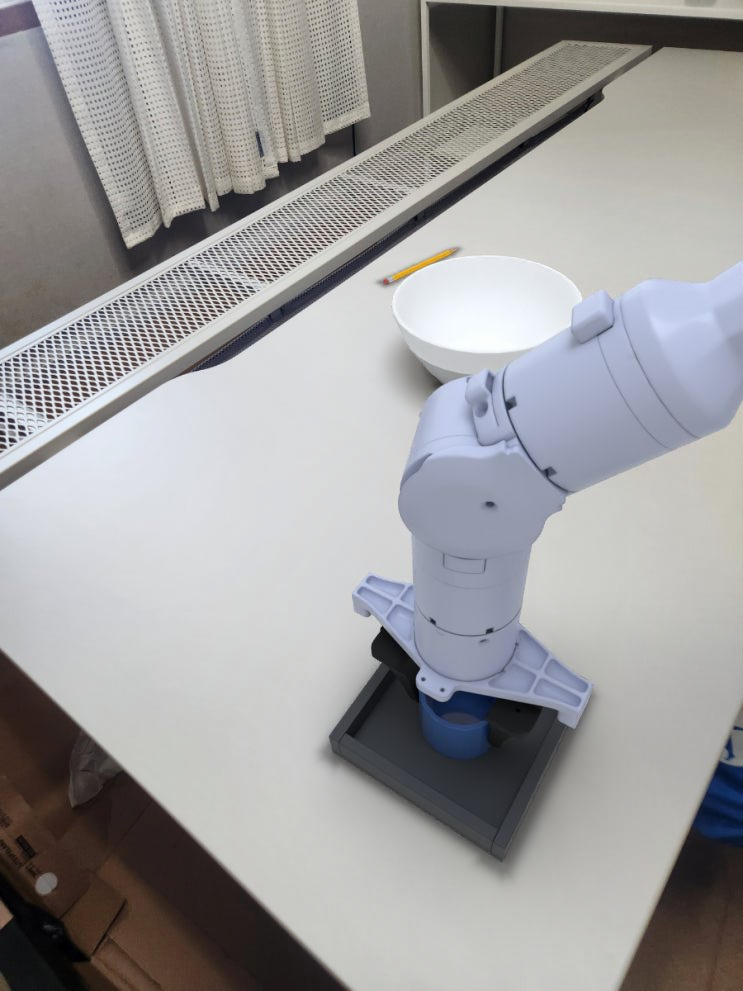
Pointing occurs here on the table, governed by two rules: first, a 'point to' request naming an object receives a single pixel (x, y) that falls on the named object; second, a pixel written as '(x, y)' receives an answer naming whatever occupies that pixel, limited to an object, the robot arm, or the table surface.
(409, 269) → the pencil
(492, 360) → the bowl
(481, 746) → the small cup
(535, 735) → the tray
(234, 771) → the table surface
